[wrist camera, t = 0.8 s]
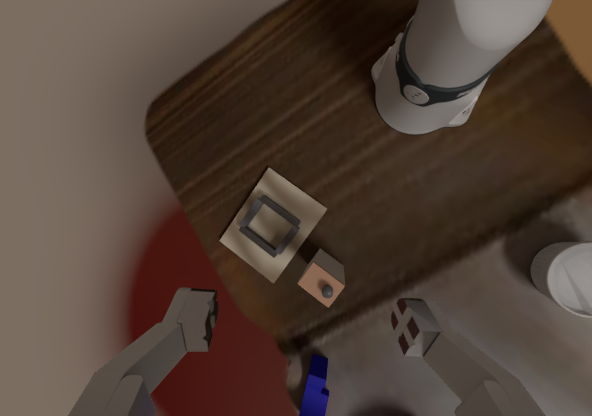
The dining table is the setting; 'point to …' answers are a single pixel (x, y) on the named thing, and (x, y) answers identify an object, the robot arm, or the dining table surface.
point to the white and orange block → (323, 278)
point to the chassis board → (272, 225)
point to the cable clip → (315, 389)
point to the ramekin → (566, 275)
